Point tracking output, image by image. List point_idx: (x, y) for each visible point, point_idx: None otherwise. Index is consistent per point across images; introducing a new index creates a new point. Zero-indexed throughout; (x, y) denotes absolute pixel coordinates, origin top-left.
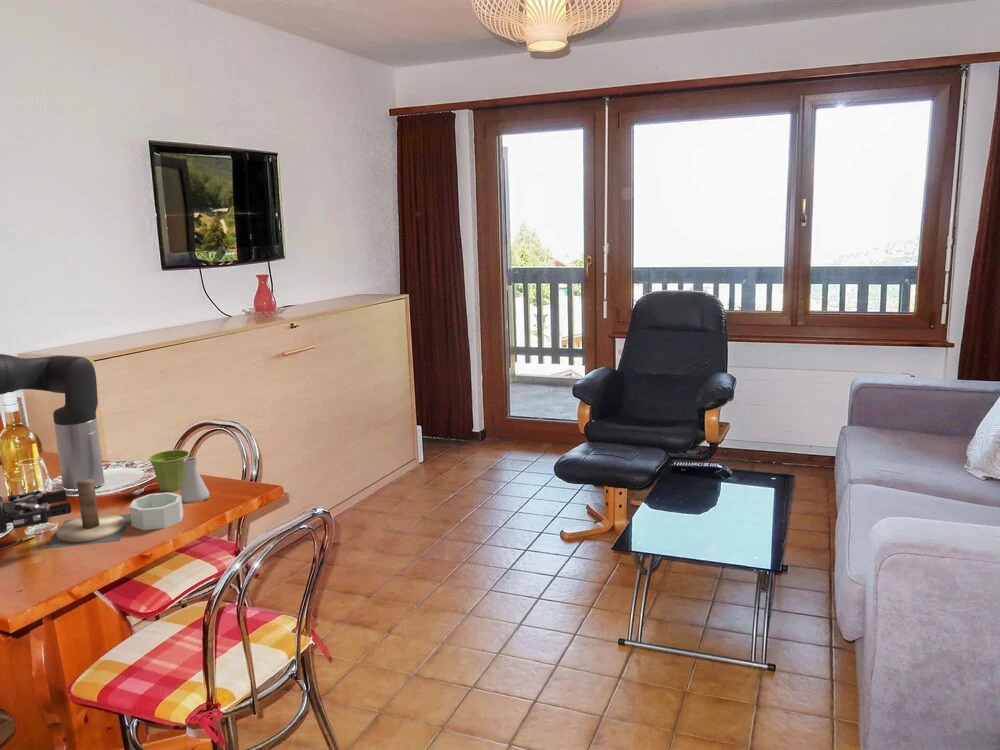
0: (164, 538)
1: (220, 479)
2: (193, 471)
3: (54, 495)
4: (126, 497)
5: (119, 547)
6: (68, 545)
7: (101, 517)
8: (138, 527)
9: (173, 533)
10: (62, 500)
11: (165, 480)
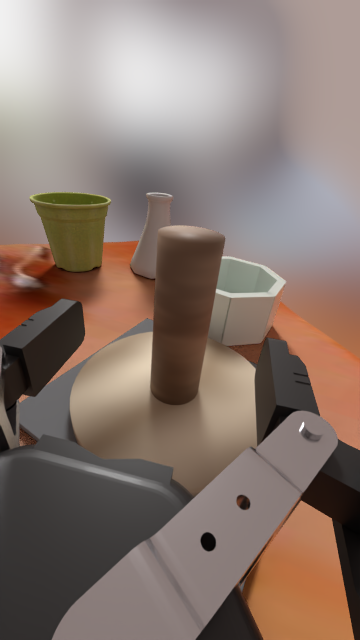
0: (319, 338)
1: (113, 243)
2: (169, 218)
3: (53, 337)
4: (27, 296)
5: (335, 400)
6: None
7: (132, 352)
8: (245, 338)
9: (299, 324)
10: (75, 347)
11: (88, 247)
